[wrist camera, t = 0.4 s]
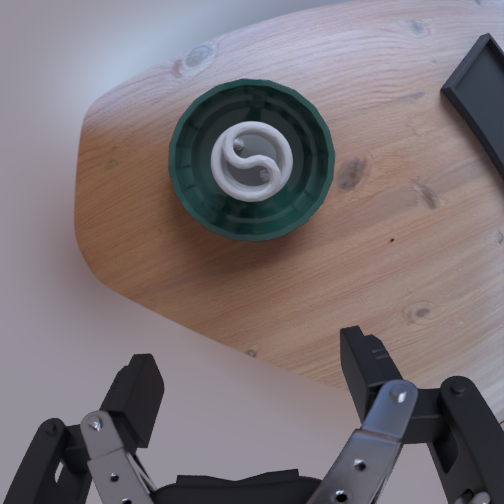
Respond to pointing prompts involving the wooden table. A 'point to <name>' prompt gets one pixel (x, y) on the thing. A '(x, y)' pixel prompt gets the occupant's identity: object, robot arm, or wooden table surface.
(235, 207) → the bowl
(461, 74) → the tray
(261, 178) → the light bulb
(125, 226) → the wooden table surface
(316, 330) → the wooden table surface
